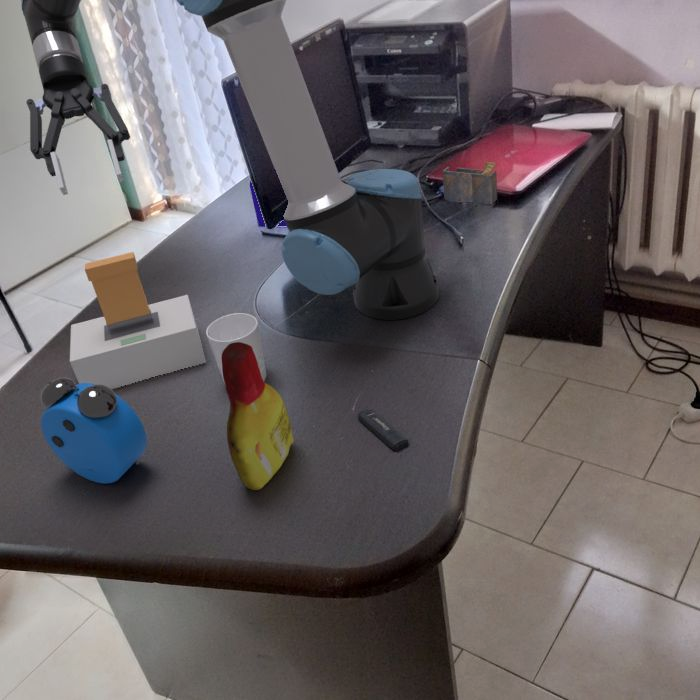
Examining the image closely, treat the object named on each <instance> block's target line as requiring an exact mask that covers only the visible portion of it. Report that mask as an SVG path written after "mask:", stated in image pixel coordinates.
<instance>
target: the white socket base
mask: <svg viewBox="0 0 700 700" xmlns="http://www.w3.org/2000/svg"><path fill="white" fill-rule="evenodd" d="M148 305H149V309H150V310H151V313H152V316H153V319H152V320H148V321H144V322H140V323H137V324H133V325H129V326H125V327H121V328H118V329H114V330H110V331H109V330H108V328H107V324H106V320H105V318H104V316H100V317H97V318H92V319H89V320H85V321H82V322H78V323H73V324H71V325H70V342H69V344H70V345H69V346H70V347H69V364H70V366H71V368H72V370H73V372H74V374H75V377H76V379H77V382H78V384H80V383H92V384H96V385H104V386H107V387H109V388H110V389H111V390H115V389H118V388H121V386H122V387H126V386H129V385H133V384H136V383H139V382H138V381H140V382H143V381H142V380H144V379H147V380H150V379H149V378H151V377H154V378H156V377H155V376H158V375H161V376H164V375H163V374H165V373H169V374H171V373H170V372H172V373H174V372H173V371H176V372H178V371H177V370H179V371H181V370H180V369H183V370H185V369H184V368H187V369H189V368H188V367H190V368H193V367H192V366H194V367H197V366H200V365H199V364H201V365H203V364H202V363H205V364H207V360H206V356H205V353H204V348H202V347H203V344H202V341H201V336H200V332H199V329H198V324H197V322H196V319H195V316H194V315H195V314H194V312H193V308H192V305H191V302H190V297H189V294H184V295H181V296H177V297H174V298H170V299H165V300H161V301H159V302H154V303H151V304H148ZM196 365H197V366H196ZM165 375H166V374H165ZM158 377H159V376H158ZM151 379H152V378H151ZM144 381H145V380H144ZM135 382H136V383H135ZM132 383H133V384H132ZM125 385H126V386H125Z"/></svg>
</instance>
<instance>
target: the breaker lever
mask: <svg viewBox="0 0 700 700" xmlns="http://www.w3.org/2000/svg"><path fill="white" fill-rule="evenodd" d="M84 271H85V274H86V278H87V280H88V282H91V284H92V286H93V289H94V292H95V295H96V298H97V301H98V303H99V307H100V309H101V311H102V315H103V317H104V318H105V320H106V324H107V328H108V330H109V331H110V330H114V329H118V328H121V327H125V326H129V325H133V324H137V323H140V322H144V321H148V320H152V319H153V316H152V313H151V310H150V309H149V305H150V304H149V303H148V300H147V297H146V294H145V291H144V287H143V283H142V282H141V278H140V275H139V272H138V262H137V260H136V256H135V253H134V251H132V252H128V253H123V254H120V255H115V256H112V257H107V258H104V259H100V260H95V261H91V262H87V263H85V264H84Z"/></svg>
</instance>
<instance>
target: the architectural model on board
mask: <svg viewBox="0 0 700 700" xmlns="http://www.w3.org/2000/svg"><path fill="white" fill-rule="evenodd" d="M496 162H497V161H496V160H495V161H494V162H490V161H489V162H488V160H487V159H486V161H485V162H484V169H476V168H475V169H474V168H467V167H466V168H464V167H456V171H450V166H447V167H446V168H445V169H443V170H442V181H443V196H444V197H443V200H444V199H445V200H449V201H456V202H473V203H484V204H493V203H494V202H495V201H496V200H497V201H498V182H497V179H498V178H497V177H498V175H497V170H495V171H494V169H495V167H496ZM496 189H497V191H496Z"/></svg>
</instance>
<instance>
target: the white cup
mask: <svg viewBox="0 0 700 700" xmlns="http://www.w3.org/2000/svg"><path fill="white" fill-rule="evenodd" d="M258 321H259V320H258V319H257V318H256V317H255V316H254V315H252V314H250V313H243V312H235V313H230V314H227V315H223V316H221V317H219V318H216V319H215V320H213V321H212V322H211V323H210V324H209V325H208V326H207V328H206V331H205V333H206V334H205V335H206V337H207V340H208V342H209V346H210V349H211V352H212V355H213V357H214V360H215V363H216V367H217V368H218V371H219V372H220V374H221V377H222V380H223V383H224V386H225V387H226V385H225V382H224V378H223V371H222V360H221V359H222V353H223V350H224V349H225V348H226V347H227V346H228V345H229V344H231V343H235V342H241V343H245V344H248V345H250V346H251V347H252V349H253V352H254V354H255V357H256V359H257V362H258V367H259V369H260V373H261V377H262V379H263V381H264V382H265V381H266V378H267V372H266V371H267V370H266V366H265V357H264V356H265V355H264V349H263V344H262V339H261V332H260V327H259V323H258Z"/></svg>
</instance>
